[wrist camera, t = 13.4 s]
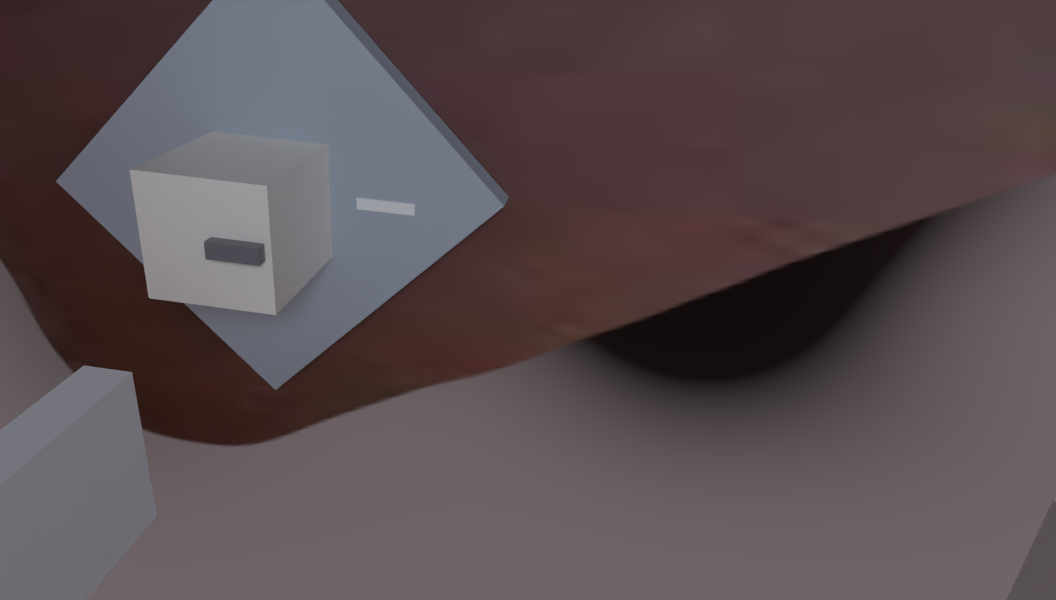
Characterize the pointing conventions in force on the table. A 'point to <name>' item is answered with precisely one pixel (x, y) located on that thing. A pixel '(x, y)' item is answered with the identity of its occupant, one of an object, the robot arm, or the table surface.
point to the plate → (308, 116)
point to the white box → (234, 220)
